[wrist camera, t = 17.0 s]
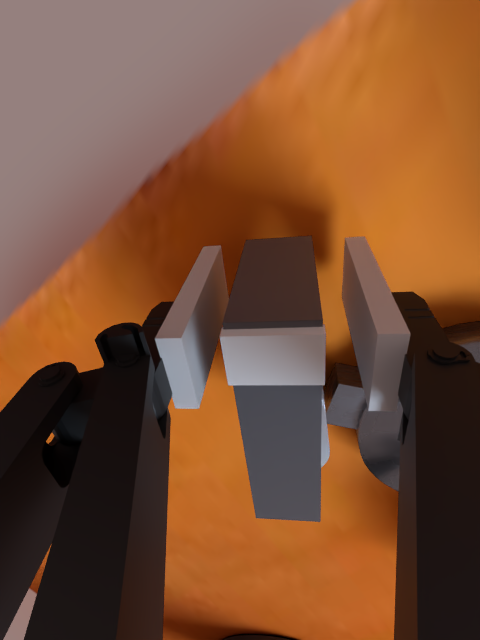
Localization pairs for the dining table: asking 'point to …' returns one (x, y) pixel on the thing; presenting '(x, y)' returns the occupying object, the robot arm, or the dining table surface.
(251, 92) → the dining table surface
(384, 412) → the base
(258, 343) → the grey bar white cap
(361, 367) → the robot arm
